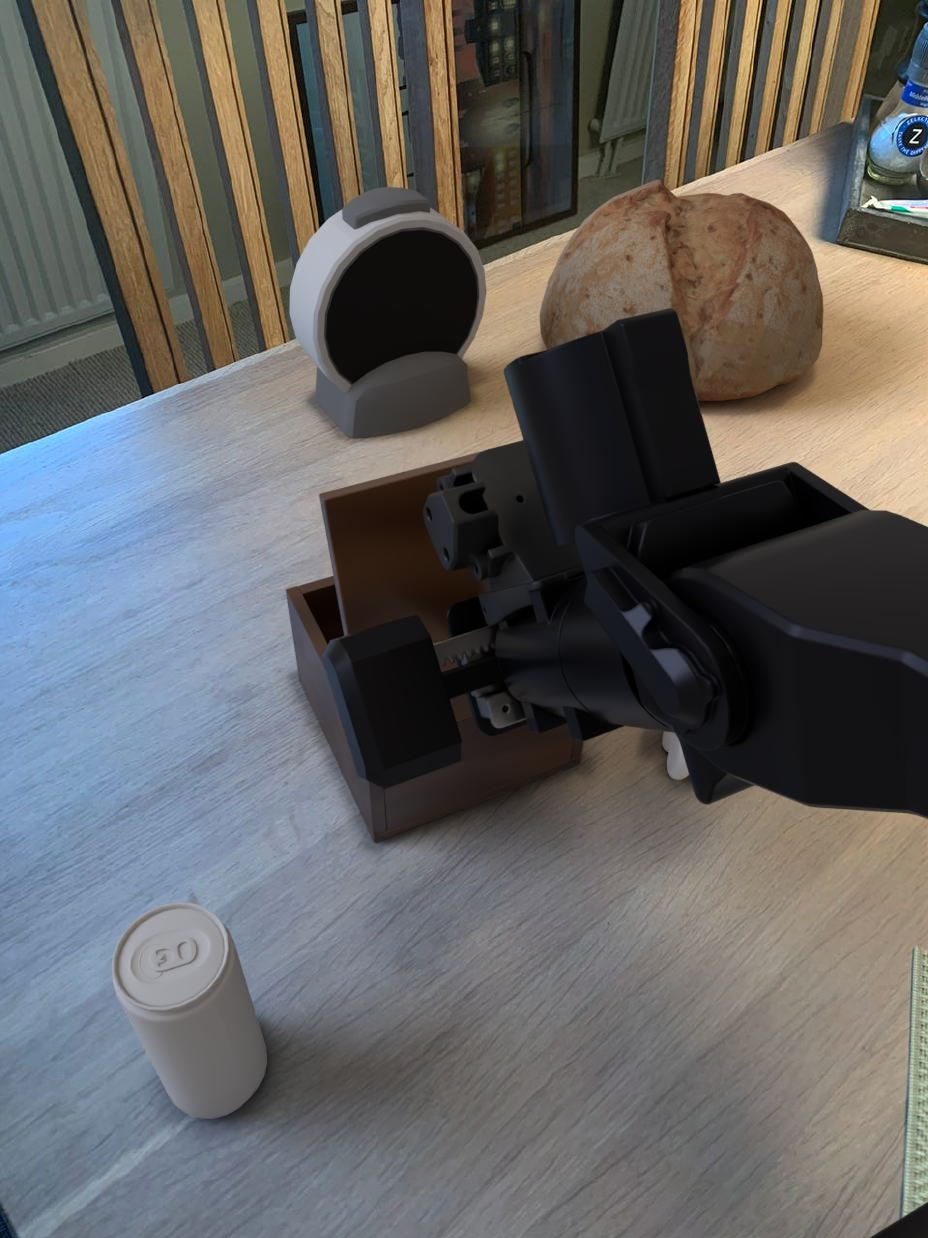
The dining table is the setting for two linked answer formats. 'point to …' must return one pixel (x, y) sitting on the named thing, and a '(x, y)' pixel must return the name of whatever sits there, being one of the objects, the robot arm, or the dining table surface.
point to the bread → (695, 284)
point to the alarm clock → (388, 312)
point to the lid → (394, 557)
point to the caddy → (436, 794)
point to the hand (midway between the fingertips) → (485, 650)
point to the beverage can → (191, 1007)
